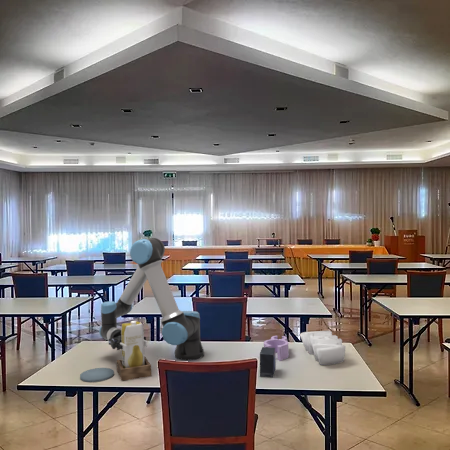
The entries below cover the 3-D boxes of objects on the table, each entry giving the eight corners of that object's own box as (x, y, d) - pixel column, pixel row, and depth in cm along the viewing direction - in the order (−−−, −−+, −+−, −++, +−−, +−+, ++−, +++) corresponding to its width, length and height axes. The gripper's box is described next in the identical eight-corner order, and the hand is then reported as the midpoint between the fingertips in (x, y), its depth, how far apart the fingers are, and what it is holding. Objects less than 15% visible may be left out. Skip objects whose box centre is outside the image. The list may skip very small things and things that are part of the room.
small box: (274, 377, 196) (273, 354, 196) (259, 377, 197) (259, 353, 197) (276, 369, 206) (275, 347, 206) (262, 368, 208) (261, 346, 207)
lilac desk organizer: (268, 347, 240) (268, 335, 240) (291, 349, 236) (291, 336, 236) (261, 359, 221) (260, 346, 221) (286, 361, 217) (285, 347, 217)
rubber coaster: (111, 368, 214) (111, 365, 214) (116, 378, 200) (116, 376, 200) (79, 373, 208) (79, 370, 208) (81, 384, 194) (81, 381, 194)
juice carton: (127, 376, 200) (125, 324, 200) (121, 372, 207) (119, 320, 206) (146, 372, 205) (144, 320, 205) (139, 367, 212) (138, 317, 211)
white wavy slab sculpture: (350, 367, 207) (349, 344, 206) (315, 369, 206) (314, 346, 205) (328, 345, 242) (328, 326, 241) (298, 346, 241) (298, 327, 240)
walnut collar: (145, 366, 215) (144, 356, 215) (151, 376, 202) (151, 365, 202) (116, 370, 210) (116, 360, 210) (121, 380, 197) (121, 369, 197)
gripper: (137, 339, 227) (158, 349, 209) (95, 348, 214) (114, 359, 196) (137, 325, 227) (158, 333, 209) (95, 333, 214) (113, 343, 196)
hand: (136, 346), depth 202 cm, fingers closed on juice carton, 9 cm apart
